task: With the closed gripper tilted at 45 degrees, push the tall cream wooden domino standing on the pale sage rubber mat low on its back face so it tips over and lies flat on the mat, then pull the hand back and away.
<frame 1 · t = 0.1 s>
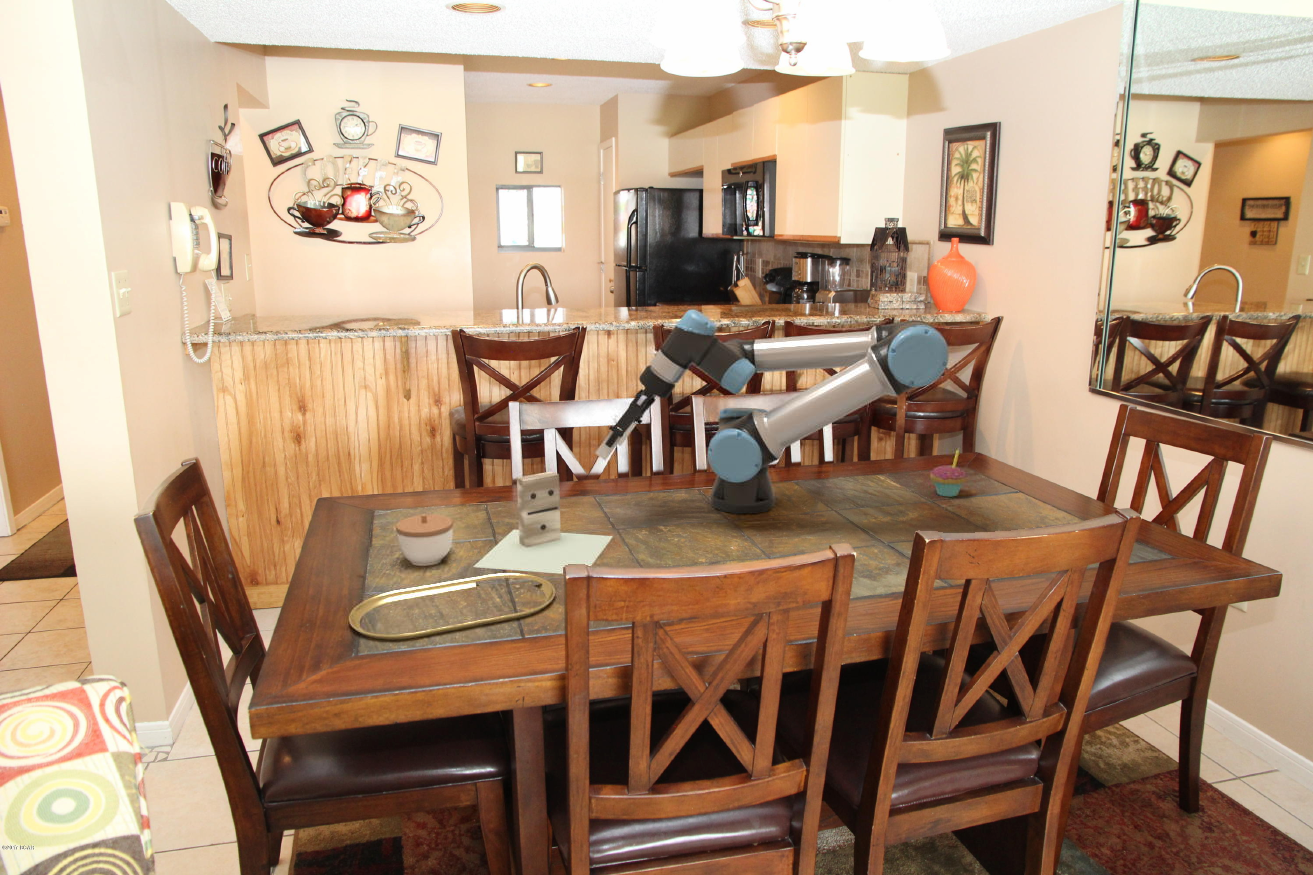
hand: (608, 449, 200), 15 cm above the table, tool tilted 35°, fingers open, 13 cm apart
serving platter: (456, 611, 154), on the table
mat: (546, 553, 180), on the table
cupcake: (946, 494, 219), on the table
lidded jar: (426, 561, 176), on the table
domino: (540, 541, 185), point 1 cm above the table, touching mat
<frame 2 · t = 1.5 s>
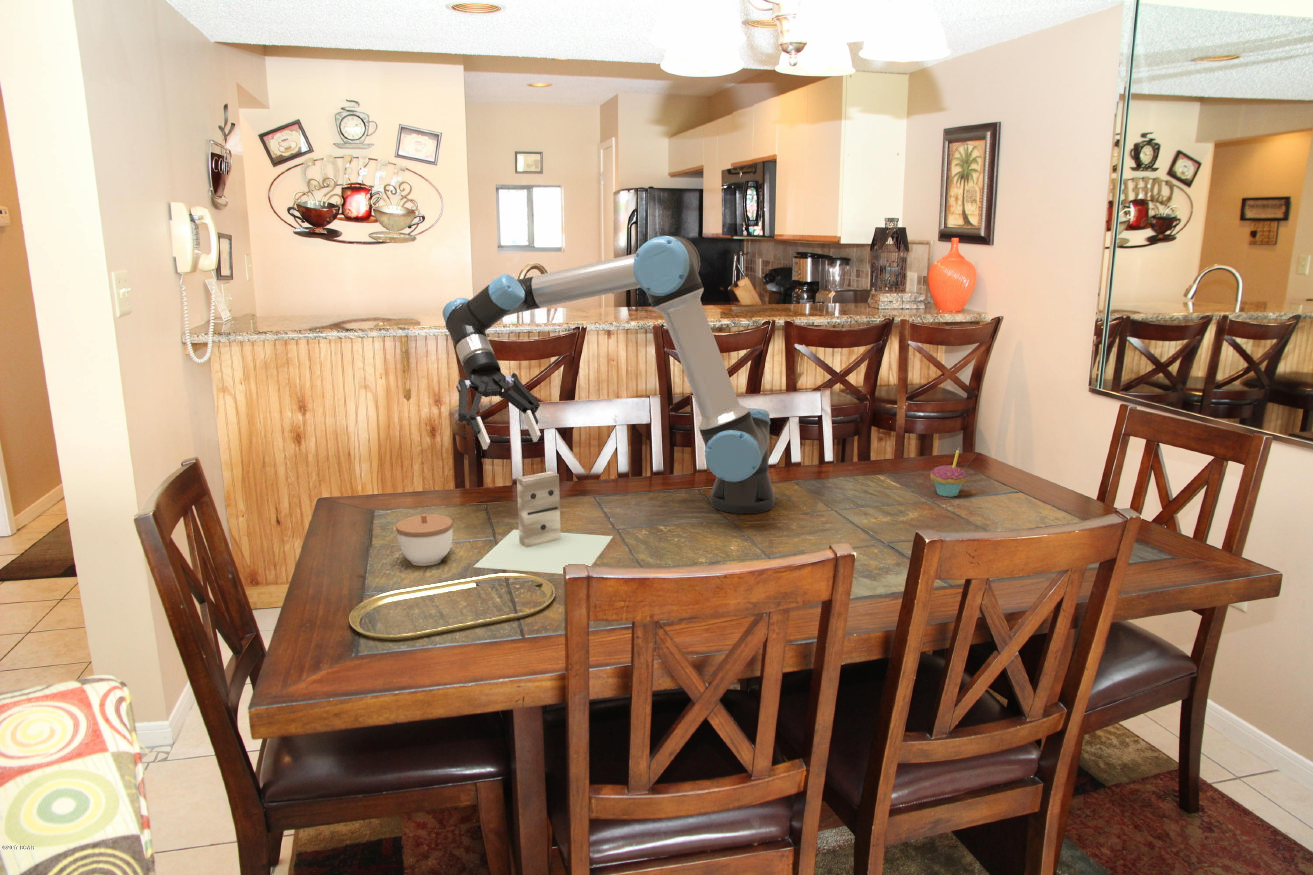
hand: (512, 442, 189), 20 cm above the table, tool tilted 45°, fingers open, 11 cm apart
nothing on the table moved.
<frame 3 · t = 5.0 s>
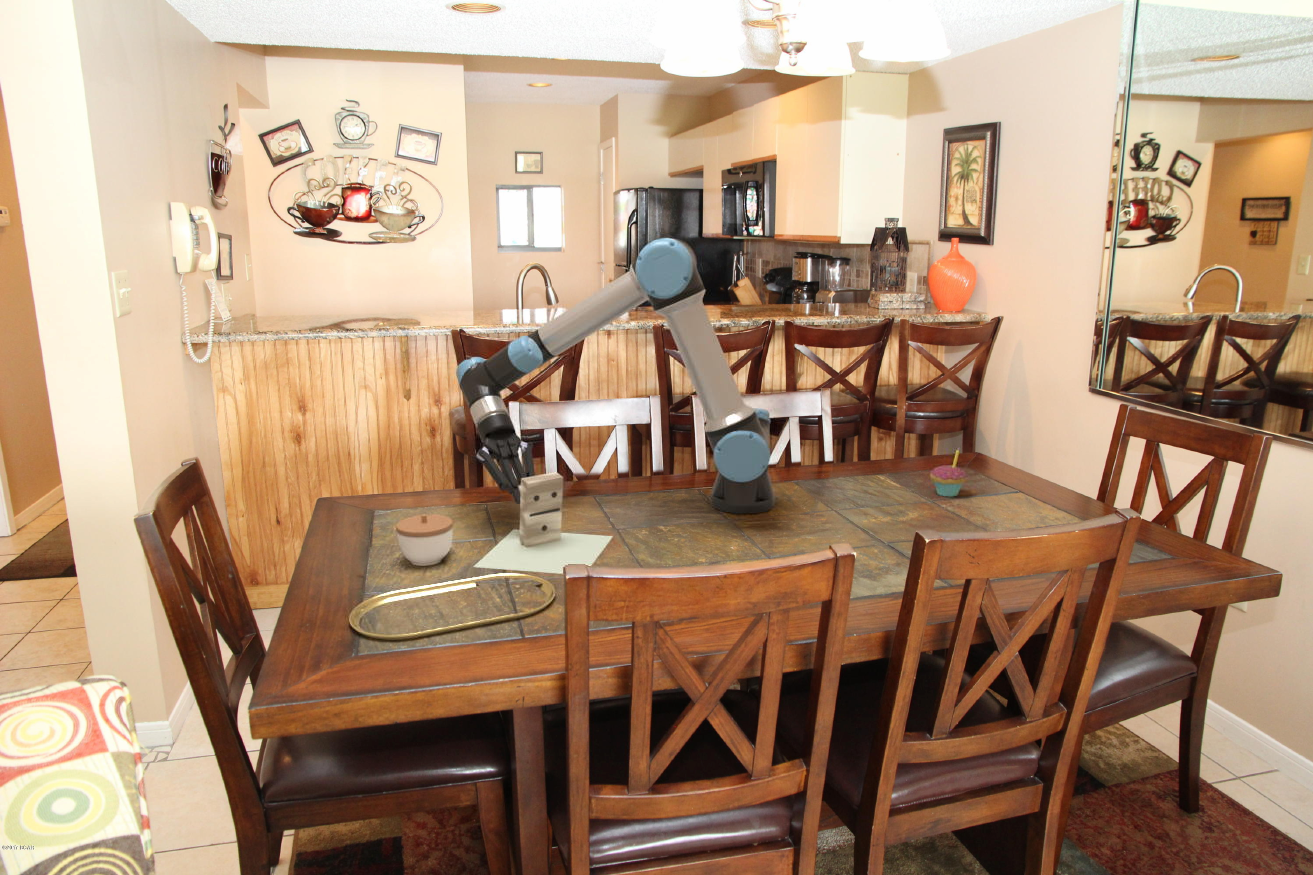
hand: (531, 515, 185), 6 cm above the table, tool tilted 45°, fingers closed
domino: (540, 540, 185), point 1 cm above the table, tilted 7°, touching mat
everything else where it was.
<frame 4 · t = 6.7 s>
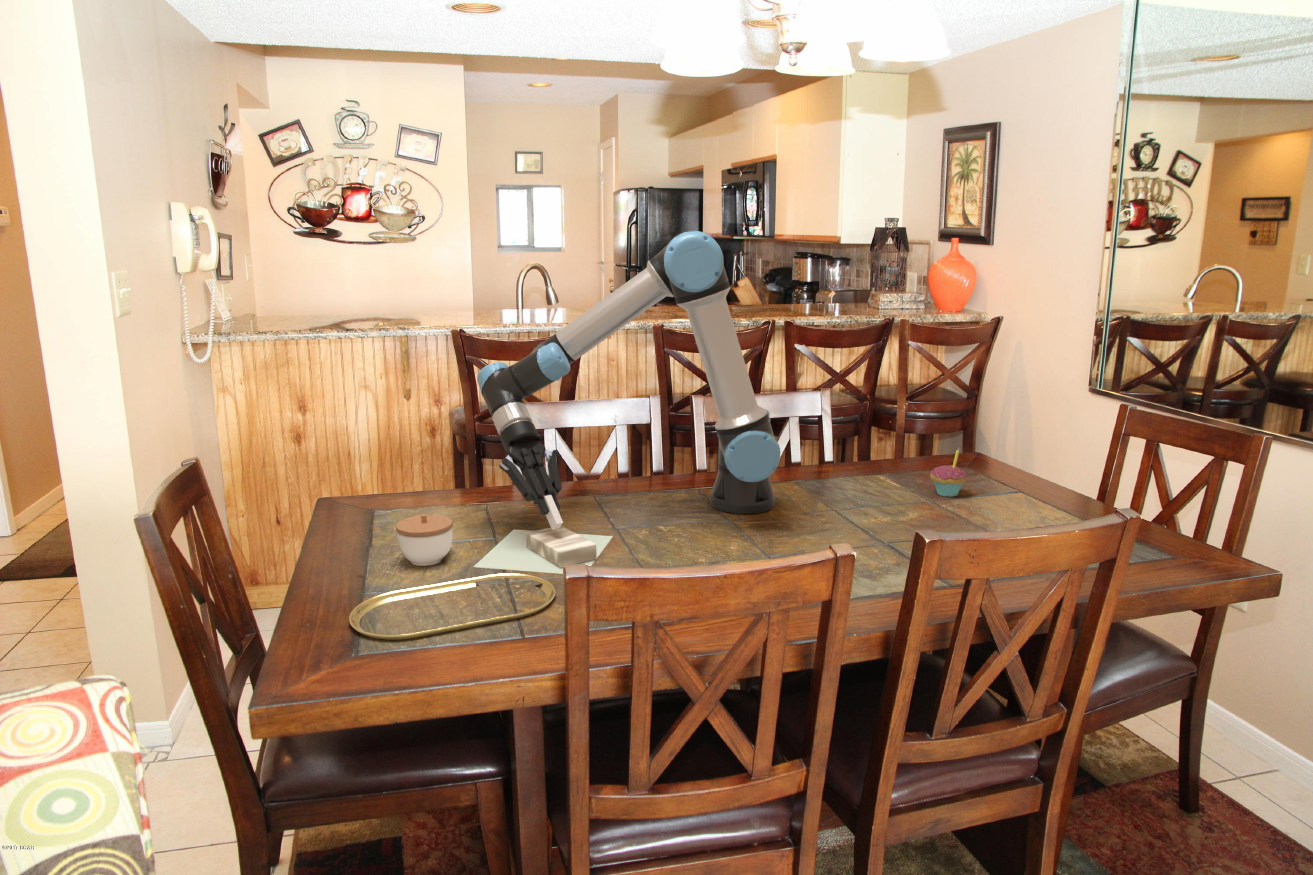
hand: (557, 526, 177), 6 cm above the table, tool tilted 45°, fingers closed
domino: (543, 535, 183), point 2 cm above the table, tilted 90°, touching mat
everything else where it was.
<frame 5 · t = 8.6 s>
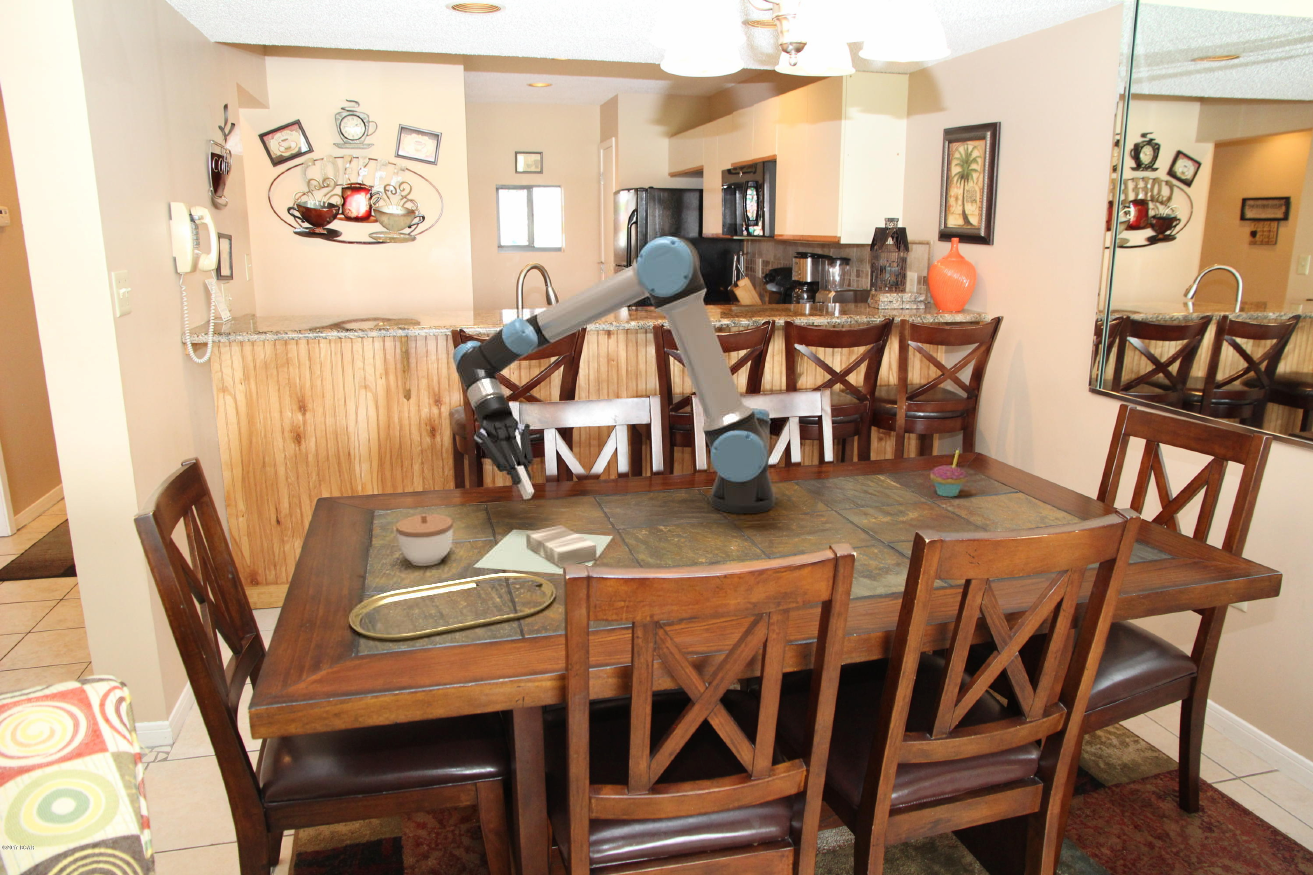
hand: (529, 495, 186), 9 cm above the table, tool tilted 45°, fingers closed
nothing on the table moved.
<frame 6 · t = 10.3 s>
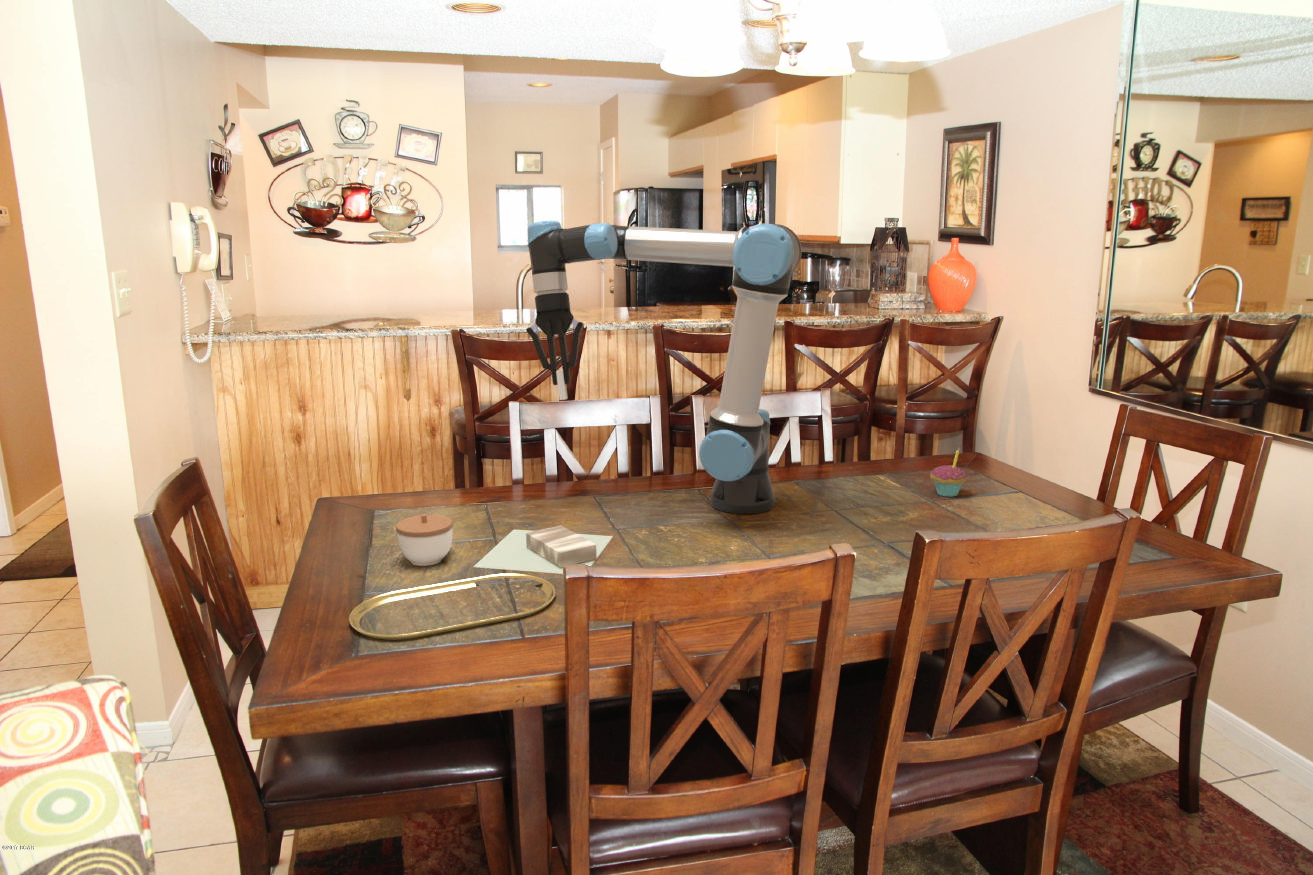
hand: (563, 399, 201), 26 cm above the table, tool pointing down, fingers closed
nothing on the table moved.
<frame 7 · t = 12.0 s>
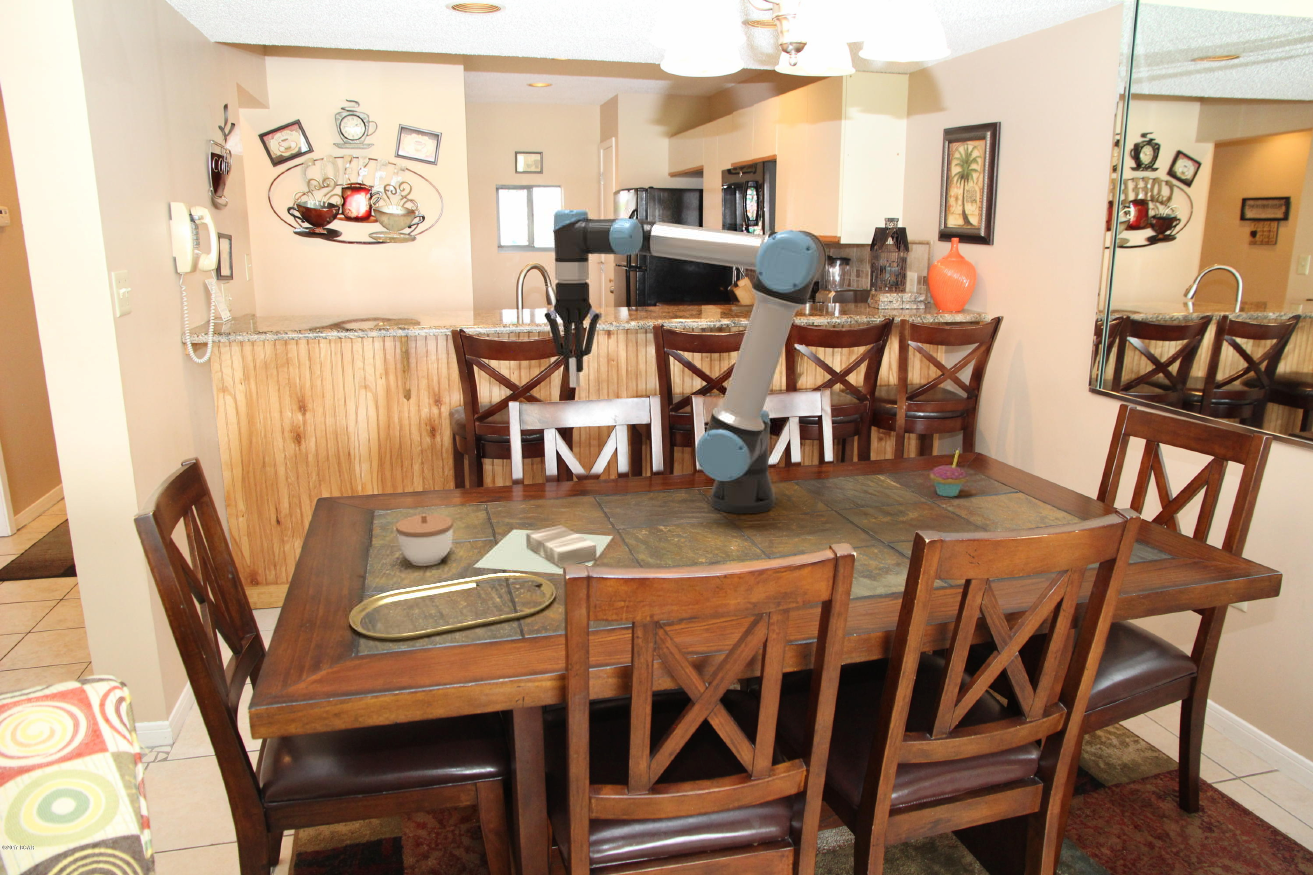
hand: (574, 386, 204), 28 cm above the table, tool pointing down, fingers closed
nothing on the table moved.
at the end: domino tilted 90°; domino inside the target area on the mat (4.3 cm from its centre), point 2.2 cm above the mat's base; the gripper is holding nothing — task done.
